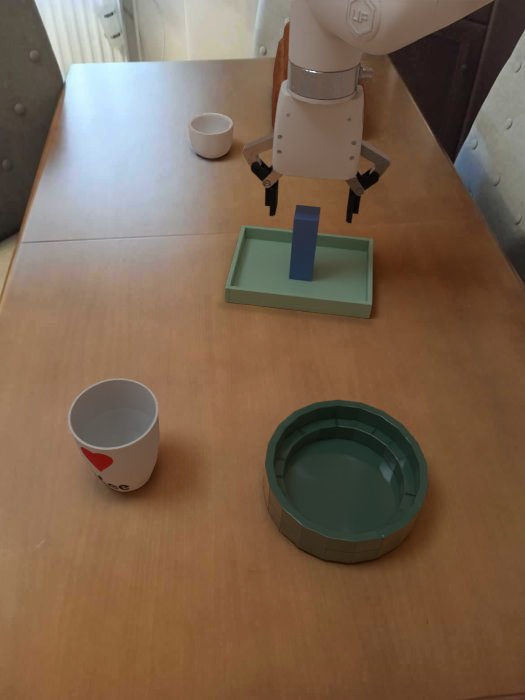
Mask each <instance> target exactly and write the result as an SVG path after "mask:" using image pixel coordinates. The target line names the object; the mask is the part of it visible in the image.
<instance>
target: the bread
mask: <svg viewBox="0 0 525 700" xmlns="http://www.w3.org/2000/svg"><path fill="white" fill-rule="evenodd" d="M289 32H290V21H288V22H286V23H285V25H284V28H283V34H282V38H281V39H280V40H278V43H277V49H276V53H275V59H274V64H273V71H272V89H271V90H272V91H271V92H272V93H271V125H272V126H271V127H272V130H273V131H274V127H275V118H276V110H277V103H278V97H279V92H280V88H281V84H282V82H283V81H285V80H287V77H288V57H289ZM360 85H361V86H362V88H363V93H364V112H365V110H366V89H365V82H364V83H360Z"/></svg>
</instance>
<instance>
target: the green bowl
mask: <svg viewBox="0 0 525 700" xmlns="http://www.w3.org/2000/svg"><path fill="white" fill-rule="evenodd" d="M428 469H429V468H428V462H427V460H426V457H425V455H424V452H423V451H422V448H421V445H420V444H419V442H418V441H417V439H416V438H415V437H414V435H412V434H411V432H410V431H409V429H407V427H406V426H405V425H404V424H403V423H402V422H400V421H399V420H397V419H396V418H394V417H393V416H392V415H390V414H389V413H387V412H386V411H385V410H383V409H380V408H377V407H374V406H372V405H370V404H367V403H364V402H361V401H353V400H347V399H346V400H345V399H331V400H324V401H323V400H322V401H316V402H313V403H310V404H308V405H306V406H304V407H301V408H299V409H296V410H294V411H293V412H292V413H291V414H289V415H287V417H286V418H285V419H284V420H283V421H281V422H280V423H279V424H278V425H277V426H276V429H275V430H274V432H273V434H272V436H271V437H270V439H269V441H268V443H267V447H266V454H265V461H264V469H263V485H262V487H263V488H262V489H263V494H264V498H265V503H266V509H267V510H268V513H269V514H270V516H271V518H272V519H273V521H274V523H275V524H276V526H277V528H278V530H279V531H280V533H282V534H283V535H284V536H285V537H286V538H288V539H289V540H290V541H291V542H292V543H293V544H294V545H295V546H297V548H299V549H300V550H302V551H305V552H307V553H309V554H311V555H313V556H315V557H317V558H319V559H322V560H326V561H331V562H333V561H334V562H340V563H345V564H353V563H359V562H365V561H371V560H376V559H378V558H380V557H382V556H384V555H385V554H387V553H389V552H391V551H393V550H394V549H396V548H398V547H399V545H400V544H402V542H403V541H404V539H405V538H406V537H407V536H408V535H409V534H410V533H411V531H412V530H413V528H414V526H415V523H416V521H417V519H418V517H419V515H420V513H421V510H422V509H423V505H424V502H425V499H426V497H427V493H428V490H429V483H430V482H429V470H428Z"/></svg>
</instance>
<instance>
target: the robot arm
mask: <svg viewBox="0 0 525 700" xmlns="http://www.w3.org/2000/svg"><path fill="white" fill-rule="evenodd" d="M494 1H495V0H290V11H289V12H290V13H289V15H290V16H289V22H290V32H289V57H288V77H287V80H285V81H283V82H282V84H281V88H280V92H279V97H278V103H277V110H276V118H275V127H274V130H273V132H272V133H270V134H267V135H264V136H262V137H260V138H257V139H255V140H252V141H250V142H248V143H246V144H244V145H243V149H242V155H243V157H244V159H245V161H246V163H247V164H248V165H249V168H250V171H251V172H252V174H253V175H255V176H256V177H257V179H259V180H260V181H261V183H262V186H263V187H264V207H269V213H268V214H269V217H275V216H276V214H277V210H278V205H279V180H280V179H281V178H282V177H283V176H285V177H293V178H304V179H306V178H307V179H316V180H329V181H344V182H345V183H346V184H347V185H348V186H349V189H348V197H347V202H346V203H347V204H346V213H345V214H346V215H345V222H346V223H347V224H352V222H353V215H359V211H360V205H361V199H362V197H361V196H363V195H364V194H365V192H366V191H367V190H368V189H369V188H371V187H372V186H374V185H375V184H376V183H378V182H379V181H380V178H381V177H382V176H383V175H384V174H385V172H386V171H387V170H388V169H389V168H390V166H391V156H390V155H389V154H387V153H386V152H384V151H382V150H381V149H379V148H378V147H375V146H374V145H372V144H371V143H370V142H368V141H366V140H364V139H363V132H364V121H365V120H364V119H365V111H364V93H363V88H362V86H361V85H360V83H364V84H365V82H368V83H372V82H373V81H372V80H373V74H374V67H367V66H366V65H363V64H364V63H363V62H361V59H362V53H364V54H368V55H372V56H384V55H388V54H392V53H394V52H396V51H398V50H400V49H403V48H405V47H406V46H409V45H412V44H413V43H415V42H417V41H418V40H420V39H422V38H425V37H426V36H428V35H431V34H433V33H435V32H438V31H440V30H443V29H444V28H446V27H448V26H450V25H451V24H453V23H455V22H457V21H459V20H461V19H464V18H465V17H467V16H468V15H470V14H472V13H474V12H476V11H478V10H479V9H481V8H483V7H484V6H487V5H488V4H491V3H492V2H494ZM269 150H272V153H271V156H272V157H271V162H272V163H271V164H270V165H269V166H268V165H267V164H266V163H265V161H264V160H262V159H261V157H260V156H259V155H260V154H262V153H264V152H267V151H269ZM361 157H362V158H364V159H366V160H368V161H369V162H371V163H373V166H372V167H371V168H369V169H367V170H366V171H365V172H364V173H362V172H361V170H360V169H359V165H360V161H361V160H360V159H361Z"/></svg>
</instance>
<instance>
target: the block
mask: <svg viewBox="0 0 525 700" xmlns="http://www.w3.org/2000/svg"><path fill="white" fill-rule="evenodd" d="M294 209H295V210H294V214H293V215H294V216H293V223H292V225H293V226H292V230H293V234H292V246H291V258H290V271H289V279H294V280H303V281H312V276H313V268H314V259H315V251H316V243H317V234H318V233H319V225H320V216H321V206H314V205H304V204H296V205H295V208H294Z"/></svg>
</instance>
